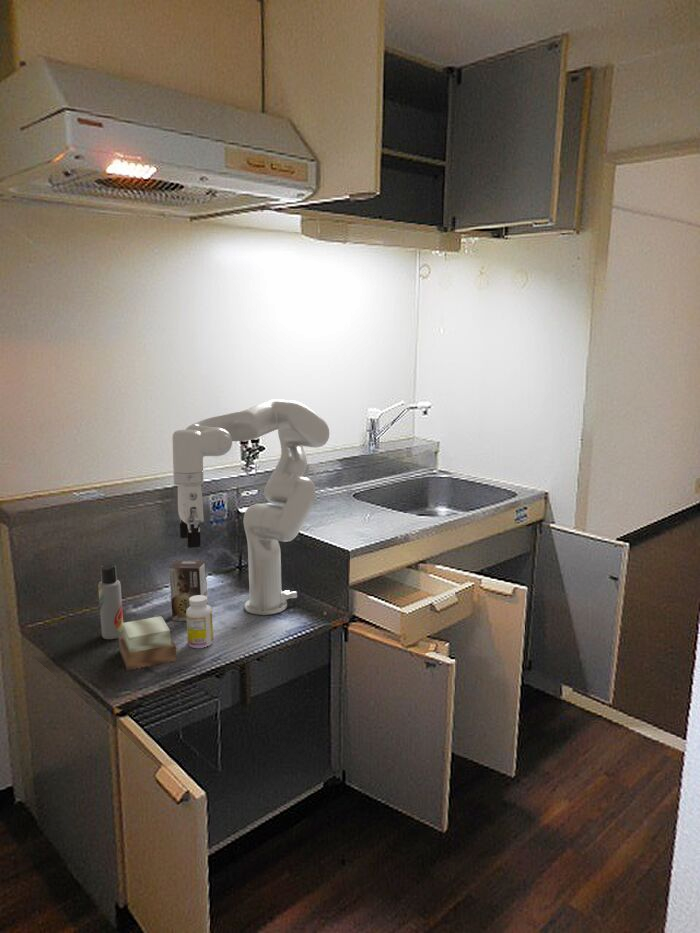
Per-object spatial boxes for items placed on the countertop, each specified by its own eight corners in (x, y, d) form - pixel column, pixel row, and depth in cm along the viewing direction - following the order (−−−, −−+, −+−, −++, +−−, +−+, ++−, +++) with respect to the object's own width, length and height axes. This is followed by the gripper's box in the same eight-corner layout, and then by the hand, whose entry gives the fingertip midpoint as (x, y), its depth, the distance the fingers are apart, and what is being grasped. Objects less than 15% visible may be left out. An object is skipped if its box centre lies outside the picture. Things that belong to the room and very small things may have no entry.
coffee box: (209, 613, 213) (206, 560, 209) (202, 622, 206) (199, 568, 203) (178, 612, 213) (175, 559, 210) (171, 620, 207) (168, 567, 204)
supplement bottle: (202, 636, 197) (200, 591, 194) (218, 642, 193) (216, 597, 190) (182, 644, 192) (180, 598, 189) (198, 651, 188) (196, 604, 185)
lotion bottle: (128, 632, 200) (123, 562, 196) (116, 640, 194) (111, 569, 190) (110, 630, 201) (105, 561, 197) (97, 638, 196) (92, 567, 192)
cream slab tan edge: (166, 642, 193) (164, 614, 192) (176, 660, 183) (174, 630, 181) (119, 651, 188) (117, 622, 186) (127, 670, 177) (125, 640, 176)
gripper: (210, 483, 180) (212, 549, 183) (195, 471, 196) (197, 532, 199) (180, 485, 177) (182, 552, 180) (167, 473, 193) (169, 535, 196)
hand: (190, 542), depth 190 cm, fingers open, 9 cm apart
